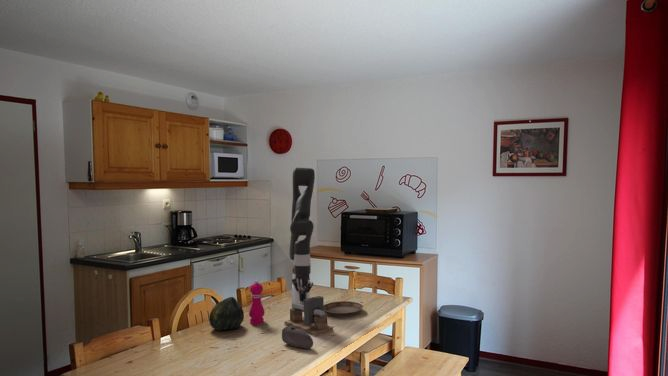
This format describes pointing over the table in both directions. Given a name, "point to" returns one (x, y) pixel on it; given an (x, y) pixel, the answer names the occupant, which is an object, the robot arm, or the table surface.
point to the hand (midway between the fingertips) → (302, 301)
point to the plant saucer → (342, 309)
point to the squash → (226, 315)
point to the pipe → (315, 311)
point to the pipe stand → (313, 329)
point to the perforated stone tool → (296, 337)
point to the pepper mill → (256, 304)
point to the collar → (310, 305)
